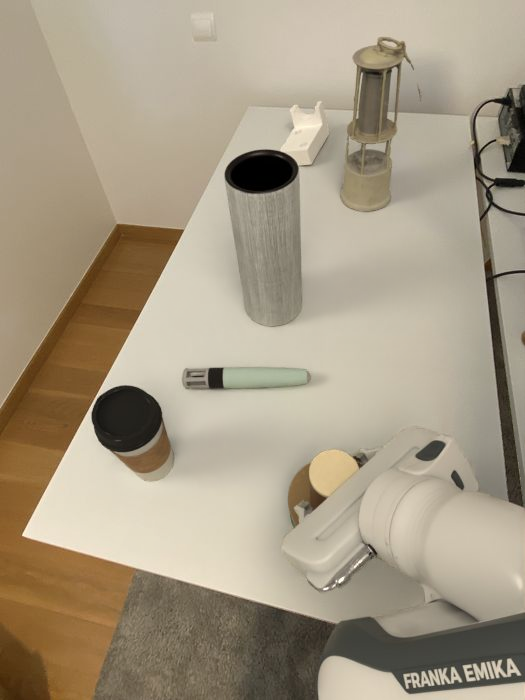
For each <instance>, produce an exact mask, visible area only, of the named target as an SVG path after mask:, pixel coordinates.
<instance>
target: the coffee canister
mask: <svg viewBox="0 0 525 700" xmlns="http://www.w3.org/2000/svg"><path fill="white" fill-rule="evenodd" d="M310 462H311V464H310V468H309V478H310V502H311V506H312V508H313V510H315V509H316V508H317V507H318V506H319V505H320V504H321V503H323V502H324V501H325V500H326V499H327V498H328V497H329V496H330V495H331V494H333V493H334V492H335V491H336V490H337V489H338V488H339V487H340V486H341V485H343V484H344V483H345V482H346V481H347V480H348V479H349V478H350V477H351V476H352V475H354V474H355V473H356V472H357V471H358V470H359V467H358V464H357V463H356V461H355V460H354V459H353V457H352V456H351V455H350V454H349V453H347V452H345V451H344V450H340V449H326V450H323V451H321V452H320V453H318V454H317V455H316V456H314V458H313V459H311V461H310Z"/></svg>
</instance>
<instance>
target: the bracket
mask: <svg viewBox="0 0 525 700" xmlns="http://www.w3.org/2000/svg"><path fill="white" fill-rule="evenodd" d="M324 106H325V105H324V102H323V100H319V101H317V102H316V104H315V106H314V112H313V113H305V112H303V111H302V110H301V109H300V108H299V105H298V104H293V105H292V107H291V108H290V109H289V114H290V117H291V121H292V125H293V127H294V128H293V129H292V131H291V132H290V133H289V135H288V137H287V138H286V140H285V141H284V143H283V145H282V146H281V148H280V149H279V151H281V152H284V153H286V154H288V155H290V156H291V157H292V158H294V159H295V161H296V162H297V164H298V166H311V165H313V162H314V161H315V159H316V158H317V156H318V154H319V152H320V151H321V149H322V148H323V146H324V144H325V142H326V140H327V139H328V137H329V135H330V128H329V124H328V120H327V116H326V112H325V107H324Z"/></svg>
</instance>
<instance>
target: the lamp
mask: <svg viewBox="0 0 525 700" xmlns="http://www.w3.org/2000/svg"><path fill="white" fill-rule="evenodd" d="M384 42H388V43H393V44H395V45H396V46H392V45H388V44H387V43H384ZM406 49H407V45H406V41H404V40H401V41H400V40H397V39H396V38H395V39H394V38H392V37H390V36H379V37H377V41H376V44H374V45H368V46H365V47H362V48H360V49H358V50H356V51H355V52H354V53H353V55H352V61H353V63H354V64H355V66H356V73H355V74H356V75H355V87H354V88H355V90H354V96H353V113H352V120H351V122H349V123H348V125H347V126H346V134H347V137H346V145H345V156H344V171H343V185H342V188H341V190H340V200H341V202H342V203H343V205H345V206H346V207H348V208H349V209H351V210H355V211H359V212H363V213H367V212H374V211H378V210H381V209H384V208H385V207H386V206H387V205H388V204H389V203H390V202H391V200H392V192H391V190H390V186H391V179H392V177H391V176H392V168H393V160H392V158H391V154H392V153H391V152H392V149H391V148H392V147H391V145H392V140H393V138H394V137H395V136H396V135H397V133H398V126H397V125H398V124H397V120H398V114H399V102H400V101H399V97H400V87H401V80H402V79H401V75H402V64H403V61H404V59H405V60H406V62H407V63H408V64H409V65H410V66H411V69H412V70H413V71H415V67H414V65H413V64H412V60H411V59H410V58H409V56H408V53H407V50H406ZM394 68H396V69H397V75H396V76H397V77H396V91H395V102H394V103H395V104H394V105H395V106H394V120H392V119H389V118H388V114H389V101H390V92H391V90H390V89H391V79H392V73H393V69H394ZM416 83H417V90H418V94H419V102H421V101H422V91H421V88H420V86H419V84H418V82H416ZM350 139H351V140H353V141H355V142H356V143H358V144H360V148H359V150H356V151H353V152H352V153H350V154H349V145H350ZM376 144H385V148H384V151H381V150H379V149H374V148H373V149H372V148H368V149H367V148H366V147H367V145H376Z"/></svg>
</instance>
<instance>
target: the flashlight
mask: <svg viewBox="0 0 525 700" xmlns="http://www.w3.org/2000/svg"><path fill="white" fill-rule="evenodd" d="M194 373H195V374H196V375H195V374H194ZM201 373H203V374H204V375H203V374H201ZM192 374H194V375H192ZM197 374H198V375H197ZM199 374H200V375H199ZM181 376H182V377H181V380H182V386H183V388H185V390H186V389H187V390H189V389H210V390H213V389H215V390H216V389H217V390H218V389H257V388H258V389H259V388H278V387H279V388H281V387H290V386H300V385H307V384H308V383H309V382H310V381H311V378H312V377H311V376H312V375H311V373H310V371H309V370H308V369H306V368H295V367H294V368H293V367H268V366H267V367H266V366H262V367H261V366H256V367H255V366H241V367H239V366H238V367H237V366H235V367H234V366H233V367H206V368H204V367H203V368H202V367H201V368H184V369H183V370H182V375H181ZM192 382H205V385H203V384H202V385H201V384H200V385H199V384H197V385H196V384H195V385H192Z"/></svg>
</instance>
